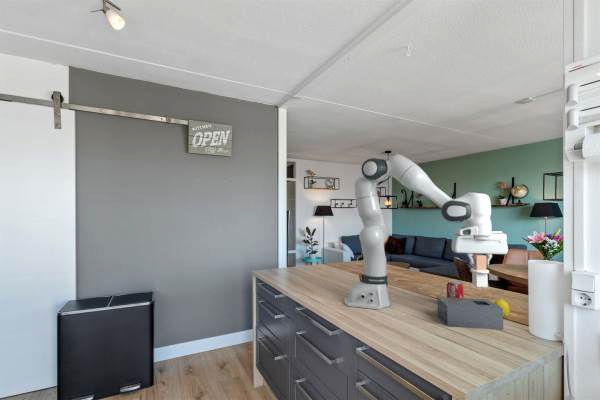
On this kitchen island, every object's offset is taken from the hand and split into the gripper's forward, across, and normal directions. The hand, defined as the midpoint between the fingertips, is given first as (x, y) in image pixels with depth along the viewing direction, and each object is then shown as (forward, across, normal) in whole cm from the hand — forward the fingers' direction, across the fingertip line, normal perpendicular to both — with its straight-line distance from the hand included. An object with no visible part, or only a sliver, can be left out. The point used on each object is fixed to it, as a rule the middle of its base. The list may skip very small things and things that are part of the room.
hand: (479, 264), depth 115 cm
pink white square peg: (+9, 0, 0) cm, 9 cm away
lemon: (+24, -11, -7) cm, 27 cm away
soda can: (+24, +3, -19) cm, 31 cm away
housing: (+24, +5, 0) cm, 24 cm away
